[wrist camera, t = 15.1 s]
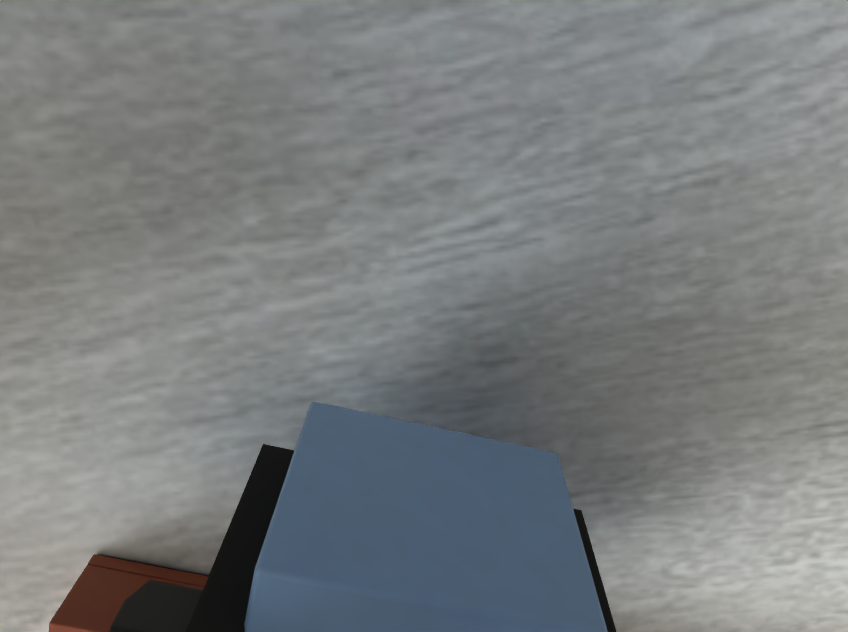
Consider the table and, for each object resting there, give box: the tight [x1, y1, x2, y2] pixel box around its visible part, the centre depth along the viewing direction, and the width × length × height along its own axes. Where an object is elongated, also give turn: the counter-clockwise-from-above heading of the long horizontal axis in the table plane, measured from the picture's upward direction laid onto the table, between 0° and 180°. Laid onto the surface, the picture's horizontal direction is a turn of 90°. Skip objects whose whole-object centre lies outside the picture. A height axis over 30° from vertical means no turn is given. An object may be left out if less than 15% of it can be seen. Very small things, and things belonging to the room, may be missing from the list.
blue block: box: [244, 402, 608, 632], centre depth 14 cm, size 5×5×5 cm
